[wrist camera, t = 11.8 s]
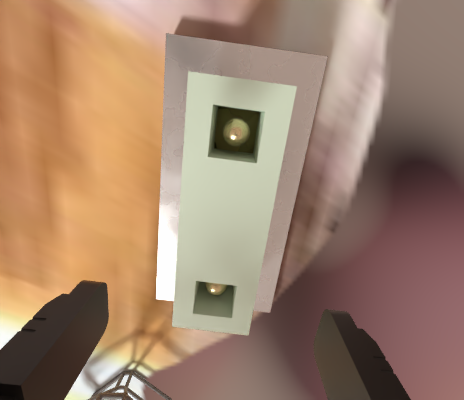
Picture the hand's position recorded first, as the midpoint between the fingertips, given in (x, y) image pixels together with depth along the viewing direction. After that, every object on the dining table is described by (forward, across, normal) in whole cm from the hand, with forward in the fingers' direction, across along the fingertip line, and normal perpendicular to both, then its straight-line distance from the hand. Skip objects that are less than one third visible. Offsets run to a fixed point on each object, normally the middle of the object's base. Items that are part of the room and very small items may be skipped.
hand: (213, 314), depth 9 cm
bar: (+12, 0, 0) cm, 12 cm away
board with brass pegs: (+15, 0, 0) cm, 15 cm away
